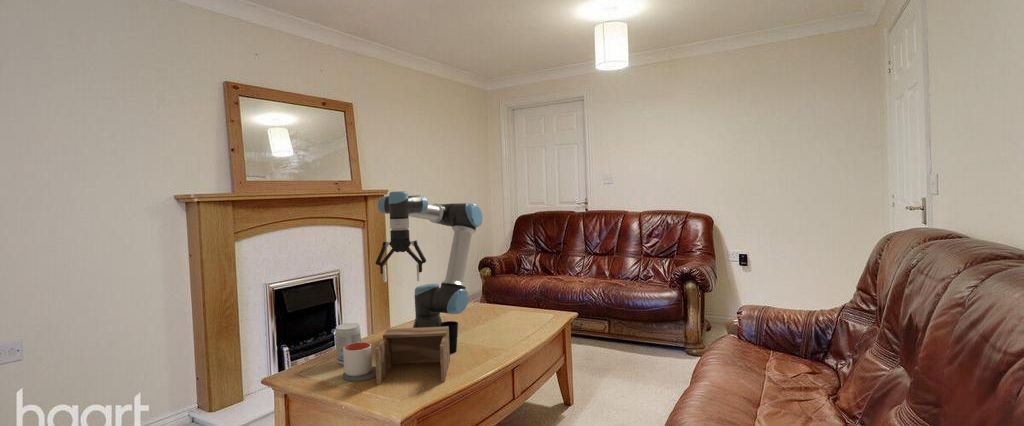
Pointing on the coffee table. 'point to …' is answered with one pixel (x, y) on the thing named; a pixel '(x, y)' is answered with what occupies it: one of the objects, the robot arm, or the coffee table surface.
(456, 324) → the cup
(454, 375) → the coffee table surface
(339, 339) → the supplement tub
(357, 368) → the cup
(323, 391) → the coffee table surface
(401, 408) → the coffee table surface
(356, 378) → the coaster
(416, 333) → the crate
